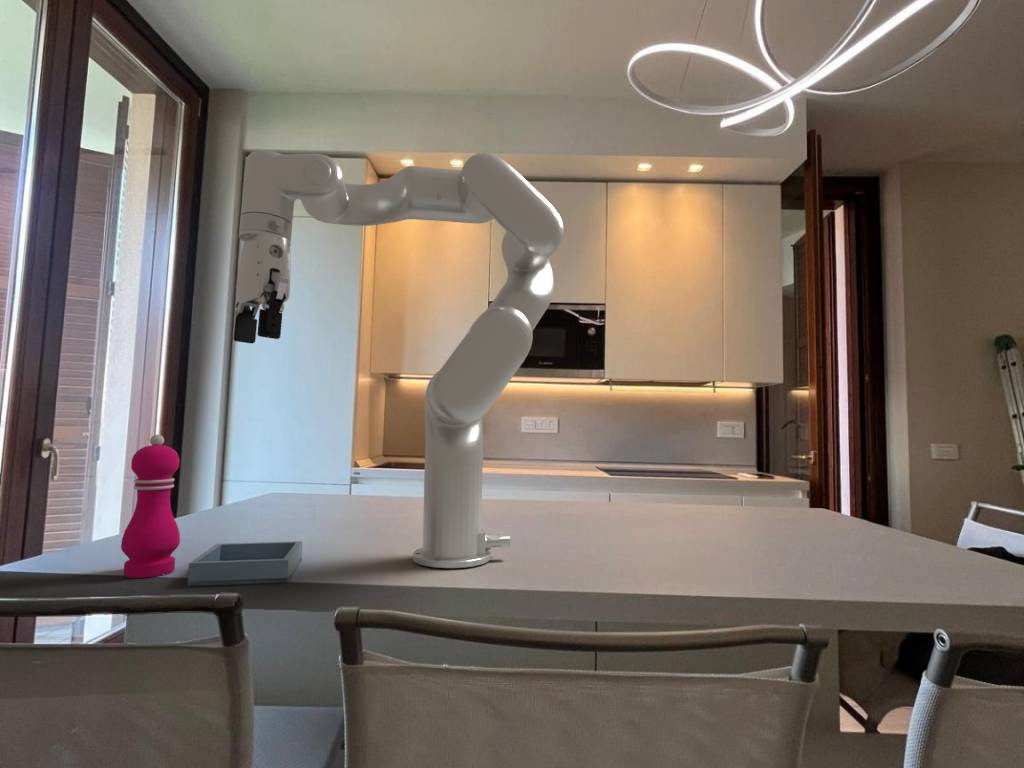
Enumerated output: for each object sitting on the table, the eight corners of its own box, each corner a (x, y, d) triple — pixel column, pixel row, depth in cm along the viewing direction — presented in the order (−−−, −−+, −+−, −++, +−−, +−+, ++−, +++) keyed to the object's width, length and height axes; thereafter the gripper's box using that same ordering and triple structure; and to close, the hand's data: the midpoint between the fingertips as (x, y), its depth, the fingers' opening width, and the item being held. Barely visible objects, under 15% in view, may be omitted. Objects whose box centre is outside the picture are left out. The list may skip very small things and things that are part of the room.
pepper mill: (189, 567, 85) (196, 434, 86) (154, 580, 78) (162, 435, 79) (144, 565, 86) (152, 433, 87) (106, 578, 79) (115, 434, 80)
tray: (301, 560, 90) (302, 541, 90) (287, 582, 78) (288, 559, 78) (216, 563, 88) (217, 543, 88) (187, 586, 75) (188, 563, 76)
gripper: (313, 227, 86) (304, 339, 84) (267, 249, 98) (258, 347, 96) (263, 212, 80) (252, 331, 79) (221, 237, 92) (211, 340, 91)
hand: (256, 339), depth 88 cm, fingers open, 9 cm apart
